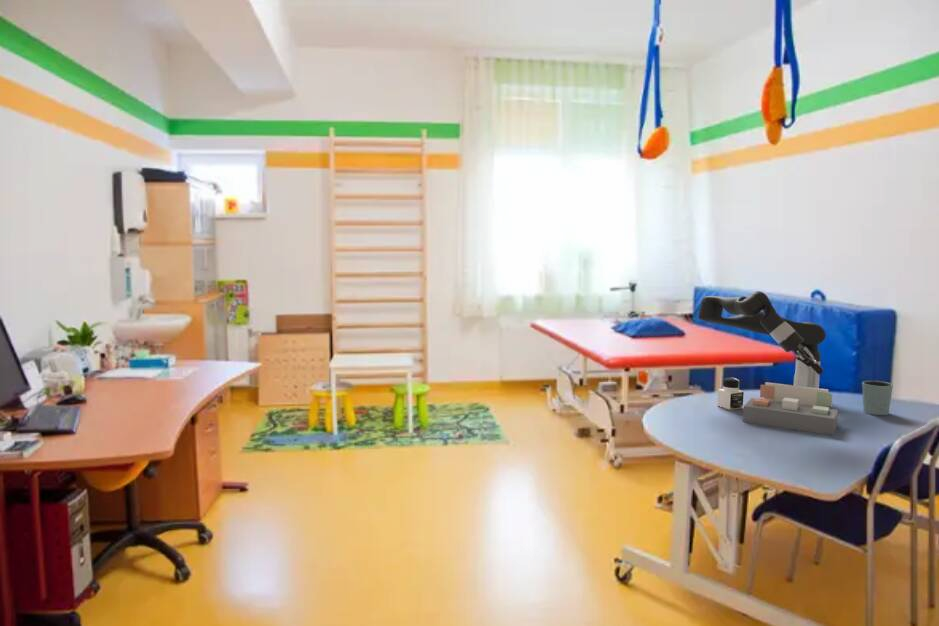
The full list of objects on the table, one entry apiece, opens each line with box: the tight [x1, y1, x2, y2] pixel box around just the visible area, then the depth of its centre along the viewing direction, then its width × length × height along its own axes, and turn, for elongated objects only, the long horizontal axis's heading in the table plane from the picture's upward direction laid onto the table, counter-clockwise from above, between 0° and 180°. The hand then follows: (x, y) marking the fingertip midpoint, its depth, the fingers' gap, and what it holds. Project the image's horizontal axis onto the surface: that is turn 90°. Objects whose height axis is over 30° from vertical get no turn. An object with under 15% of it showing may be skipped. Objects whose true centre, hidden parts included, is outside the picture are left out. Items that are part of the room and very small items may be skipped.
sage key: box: [812, 406, 830, 415], centre depth 237 cm, size 5×5×4 cm
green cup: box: [861, 380, 893, 416], centre depth 256 cm, size 10×10×12 cm
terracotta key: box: [753, 397, 770, 407], centre depth 248 cm, size 5×5×4 cm
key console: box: [742, 381, 839, 436], centre depth 244 cm, size 30×19×12 cm, turn 55°
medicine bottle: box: [716, 377, 745, 411], centre depth 265 cm, size 7×7×12 cm
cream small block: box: [782, 398, 799, 411], centre depth 242 cm, size 5×5×4 cm
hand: (821, 372), depth 235 cm, fingers closed
